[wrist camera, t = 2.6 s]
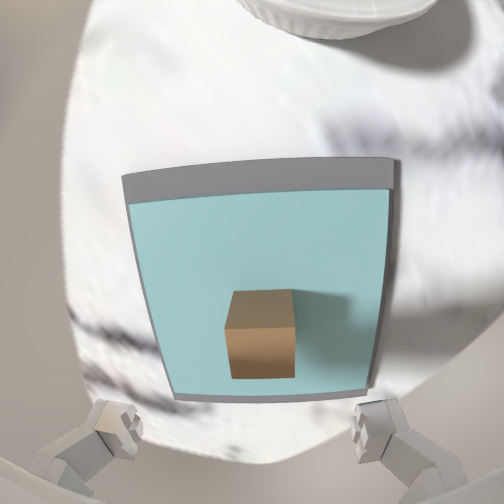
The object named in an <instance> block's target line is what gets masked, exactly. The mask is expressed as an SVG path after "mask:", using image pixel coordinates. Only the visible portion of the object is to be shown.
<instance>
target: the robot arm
mask: <svg viewBox="0 0 504 504" xmlns="http://www.w3.org/2000/svg"><path fill="white" fill-rule="evenodd" d="M136 412H137V410H136V408H135V406H134V405H130V404H124V403H119V402H114V401H108V400H103V399H99V400H97V401H96V402H95V404H94V406H93V408H92V409H91V411H90V413H89V415H88V417H87V418H86V420H85V422H84V424H83V426H82V427H80V426H79V427H77V428H75V429H74V430H72V431H70V432H69V433H67V434H65V435H64V436H62V437H60V438H59V439H57V440H55V441H53V442H52V443H50V444H48V445H46V446H45V447H43V448H41V449H39V450H38V452H37V454H36V456H35V457H34V459H33V461H32V463H31V464H30V466H29V468H28V470H27V471H25V470H23V469H21V468H20V467H18V466H15V465H14V464H12V463H10V462H8V461H6V460H5V459H3V458H1V457H0V504H108V503H105V502H101V501H98V500H95V499H92V496H93V490H92V489H91V488H90V487H89V486H88V485H87V484H86V482H87V481H88V480H89V479H90V478H92V477H93V476H94V475H95V474H96V473H98V472H99V471H100V470H101V469H102V468H103V467H105V466H106V465H107V464H108V463H109V462H111V461H112V460H113V459H114V457H117V458H122V459H128V460H134V457H135V454H136V451H137V449H138V447H137V445H136V443H137V442H138V441H139V440H141V438H142V435H143V423H142V420H141V418H140V417H138V416H137V415H136ZM355 414H356V416H355V417H353V419H352V424H351V432H352V438H353V441H354V442H355V443H356V444H357V446H356V449H355V452H356V456H357V460H358V464H362V463H368V462H374V461H379V460H381V461H380V462H381V463H382V464H383V465H384V466H386V467H387V468H388V469H389V470H390V471H391V472H392V473H393V474H394V475H395V476H396V477H397V478H398V479H399V480H400V481H402V482H403V483H404V484H405V485H406V486H407V487H408V488H409V489H408V490H407V491H406V493H405V494H404V495H403V496H402V498H401V499H400V500H399V503H400V504H504V466H503V467H501V468H499V469H497V470H495V471H493V472H491V473H489V474H487V475H485V476H483V477H481V478H479V479H477V480H474V481H472V482H470V483H469V482H468V480H467V477H466V475H465V472H464V470H463V468H462V465H461V463H460V461H459V458H458V457H457V456H455V455H454V454H452V453H451V452H449V451H447V450H446V449H444V448H443V447H441V446H439V445H438V444H437V443H435V442H433V441H432V440H430V439H429V438H427V437H426V436H424V435H423V434H421V433H420V432H418V431H417V430H415V429H410V427H409V425H408V422H407V420H406V417H405V415H404V412H403V410H402V408H401V405H400V403H399V401H398V399H397V398H391V399H385V400H378V401H373V402H367V403H360V404H357V405H356V407H355Z"/></svg>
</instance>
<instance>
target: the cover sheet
mask: <svg viewBox="0 0 504 504" xmlns="http://www.w3.org/2000/svg"><path fill="white" fill-rule="evenodd" d="M129 210H130V216H131V222H132V228H133V233H134V239H135V244H136V249H137V254H138V259H139V264H140V269H141V273H142V278H143V282H144V287H145V291H146V295H147V299H148V303H149V307H150V311H151V315H152V319H153V323H154V326H155V330H156V334H157V337H158V341H159V344H160V348H161V351H162V355H163V358H164V361H165V365H166V368H167V371H168V374H169V377H170V380H171V383H172V386H173V389H174V392H175V393H187V394H204V395H234V396H265V395H295V394H312V393H325V392H336V391H346V390H355V389H363V388H365V385H366V381H367V376H368V372H369V367H370V362H371V357H372V352H373V346H374V341H375V335H376V329H377V323H378V316H379V309H380V302H381V294H382V286H383V277H384V268H385V257H386V245H387V230H388V210H389V190H388V189H386V188H327V189H296V190H274V191H256V192H240V193H225V194H212V195H200V196H189V197H178V198H168V199H158V200H149V201H140V202H133V203H131V204H129Z"/></svg>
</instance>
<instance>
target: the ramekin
mask: <svg viewBox="0 0 504 504" xmlns="http://www.w3.org/2000/svg"><path fill="white" fill-rule="evenodd" d="M236 1H237V2H238V3H239V4H241V5H242V6H243V8H244V9H245V10H247V11H248V12H250V13H251V14H252V15H253V16H254V17H255V18H257V19H260V20H262V21H263V22H264V23H266V24H268V25H271V26H273V27H275V28H277V29H280V30H284V31H286V32H288V33H293V34H297V35H299V36H305V37H311V38H322V39H338V40H342V39H346V38H348V39H353V38H356V37H358V36H364V35H368V34H370V33H372V32H376V31H378V30H380V29H383V28H385V27H389V26H394V25H399V24H402V23H406V22H409V21H411V20H414V19H416V18H418V17H420V16H421V15H423V14H425V13H426V12H427V11H429V10H430V9H431V8H432V7H434V6H435V5H436V4H437V3H438V2H439V1H440V0H236Z"/></svg>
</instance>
